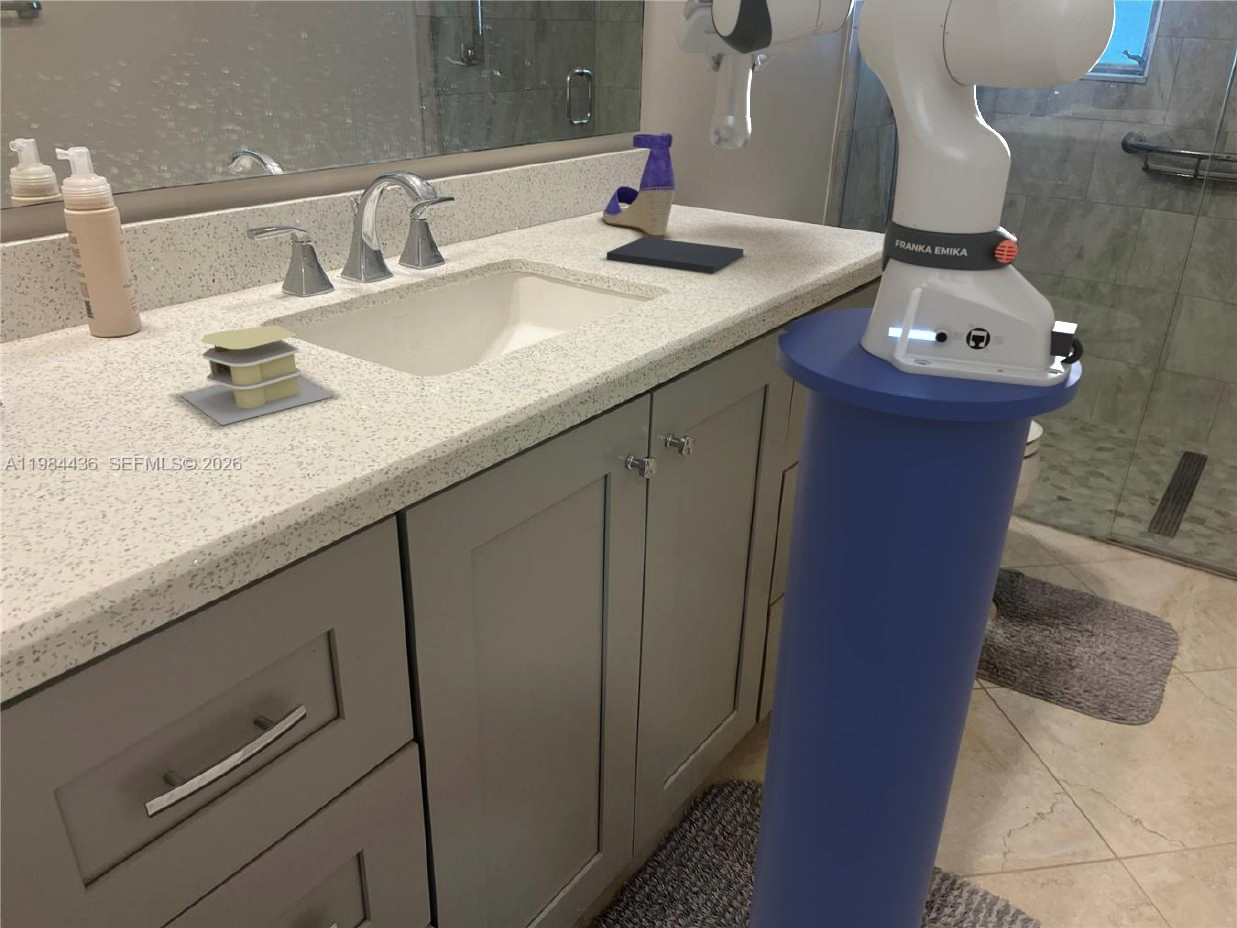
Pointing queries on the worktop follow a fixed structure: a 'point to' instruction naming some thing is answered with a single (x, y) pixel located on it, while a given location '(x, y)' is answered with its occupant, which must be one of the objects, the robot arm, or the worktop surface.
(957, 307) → the robot arm
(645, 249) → the dark rectangular flat slab
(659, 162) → the sandal
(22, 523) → the worktop surface
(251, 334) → the stacked layers on plate
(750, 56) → the plastic bottle
